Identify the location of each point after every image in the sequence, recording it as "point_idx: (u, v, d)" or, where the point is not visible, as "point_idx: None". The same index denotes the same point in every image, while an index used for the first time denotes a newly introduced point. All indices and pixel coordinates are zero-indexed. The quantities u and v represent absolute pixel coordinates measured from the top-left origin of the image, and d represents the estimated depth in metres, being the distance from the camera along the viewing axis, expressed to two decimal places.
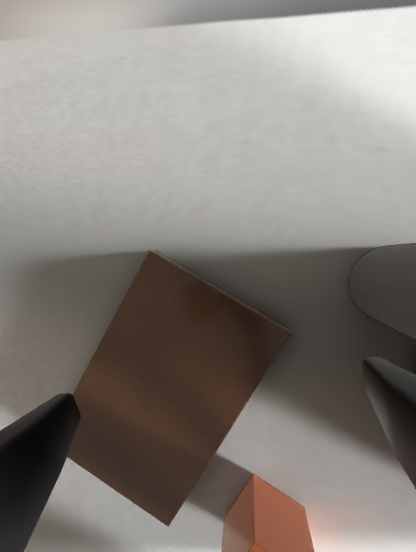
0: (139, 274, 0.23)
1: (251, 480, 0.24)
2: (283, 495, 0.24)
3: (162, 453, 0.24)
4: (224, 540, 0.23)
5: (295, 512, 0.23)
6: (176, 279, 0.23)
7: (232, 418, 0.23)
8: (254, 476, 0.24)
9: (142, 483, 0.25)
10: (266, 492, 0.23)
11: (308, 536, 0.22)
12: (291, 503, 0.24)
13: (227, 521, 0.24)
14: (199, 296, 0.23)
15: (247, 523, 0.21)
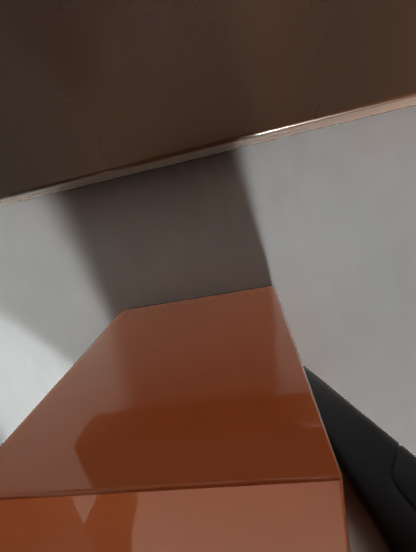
0: None
1: (264, 291, 0.08)
2: None
3: None
4: (100, 348, 0.07)
5: None
6: None
7: None
8: None
9: None
10: None
11: None
12: None
13: (130, 320, 0.08)
14: None
15: (244, 366, 0.05)
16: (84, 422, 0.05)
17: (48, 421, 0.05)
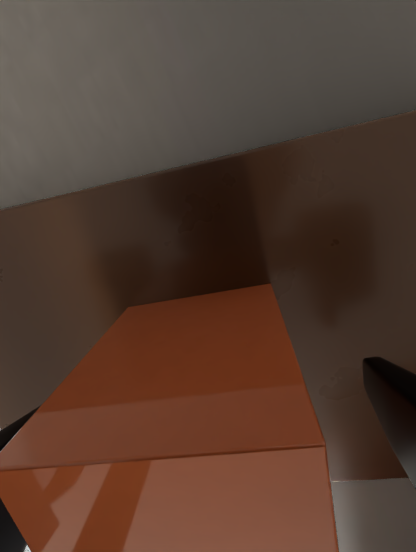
0: None
1: (262, 289, 0.09)
2: None
3: None
4: (108, 341, 0.08)
5: None
6: None
7: None
8: None
9: None
10: None
11: None
12: None
13: (135, 316, 0.09)
14: None
15: (242, 355, 0.06)
16: (97, 404, 0.05)
17: (64, 404, 0.05)
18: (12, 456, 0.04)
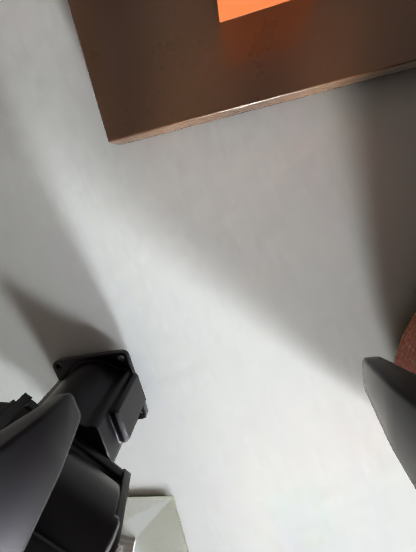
0: None
1: None
2: None
3: (184, 40, 0.15)
4: None
5: None
6: None
7: (310, 81, 0.15)
8: None
9: (122, 56, 0.15)
10: None
11: None
12: None
13: None
14: None
15: None
16: None
17: None
18: None
